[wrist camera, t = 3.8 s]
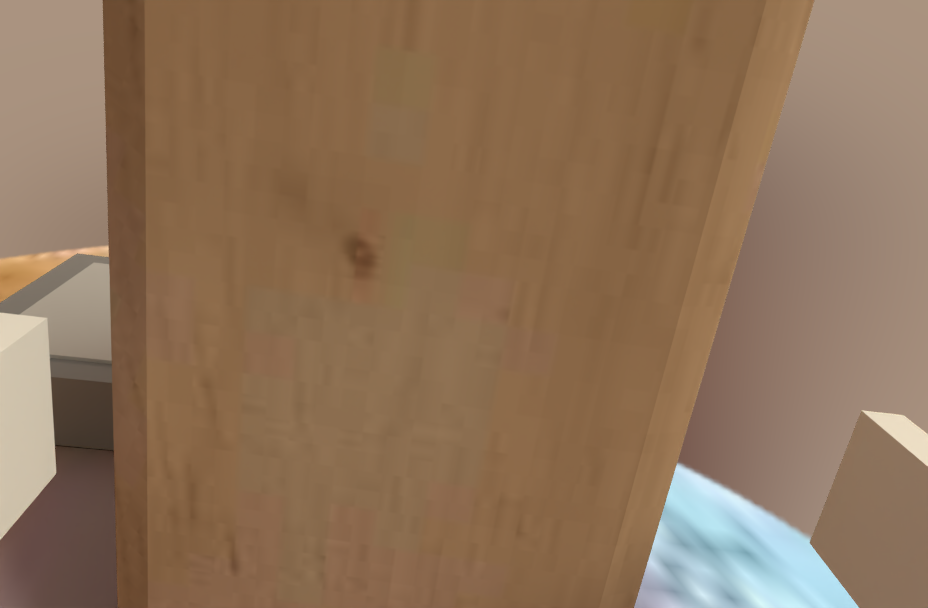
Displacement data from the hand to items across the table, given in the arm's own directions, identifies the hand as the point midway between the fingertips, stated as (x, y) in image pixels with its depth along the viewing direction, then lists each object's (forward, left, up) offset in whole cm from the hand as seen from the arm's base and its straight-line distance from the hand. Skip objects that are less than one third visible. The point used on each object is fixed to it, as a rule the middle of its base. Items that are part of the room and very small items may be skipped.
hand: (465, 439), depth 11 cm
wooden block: (-1, +5, -11) cm, 12 cm away
